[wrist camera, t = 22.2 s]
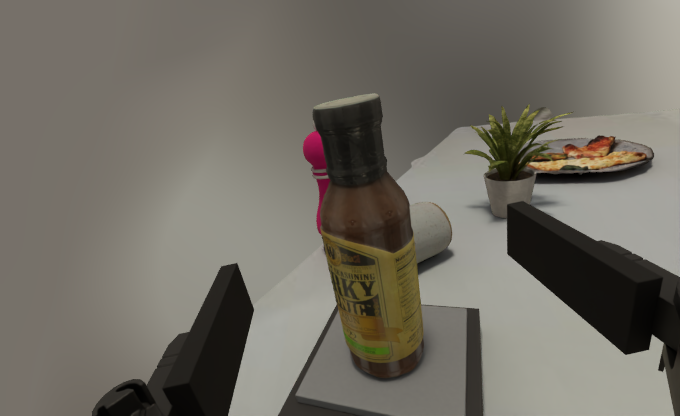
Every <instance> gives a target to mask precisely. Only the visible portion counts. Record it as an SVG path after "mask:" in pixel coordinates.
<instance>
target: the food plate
mask: <svg viewBox="0 0 680 416" xmlns="http://www.w3.org/2000/svg"><path fill="white" fill-rule="evenodd" d="M549 141H553V140H547V141H536V142H532V144H533V143H539V144H545V143H547V142H549ZM528 144H529V143H526V144H525V145H524V146H523V147H522V149H521V150H520V152H521V151H522V150H523V148H525V147H526V146H528ZM540 146H542V145H537V146H534V147H532V148H530V149H529V150H528V151H527V152H526V153H525V154H524V155H523V157H522V158H521V160H522V159H523V158H524V157H525V156H526V155H527V154H528V153H529V152H531V151H533V150H534V149H536V148H539V147H540ZM545 147H547V146H545ZM548 147H549V148H552V149H549V150H546V151H543V152H540V153H545V154H550V155H549V156H550V157H551V158H552V161H553V162H552V161H551V160H550V159H548V158H545V157H541V156H538V157H537V158H536V159H535V160H533V161H532V162H531V163H529V164H528V165H527V166H526V168H530V169H533V170H535V171H536V173H542V172H544V173H551V174H561V173H571V174H572V173H579V174H580V175H582V173H583V172H584V173H585V172H601V171H602V172H606V171H607V172H608V171H623V170H627V169H631V168H633V167H637V166H640V165H643V164H645V163H648V162H649V160H651V159H653V157H654V153H653V151H652V149H651V148H649V147H647V146H645V145H642V144H638V143H634V142H629V141H623V140H615V137H613V136H611V137H604V136H597V138H595V139H588V138H581V139H580V138H578V139H575V138H574V139H562V140H561V139H558V141H554V142H551V143H549V144H548ZM554 149H555V150H554ZM520 152H519V153H520ZM519 153H518V154H519ZM534 157H536V156H533V157H532V158H531V159H530V160H529V161H528V162H530V161H531V160H532V159H533V158H534ZM521 160H520V162H521ZM520 162H519V163H520ZM528 162H527V163H528Z"/></svg>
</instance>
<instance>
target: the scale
mask: <svg viewBox="0 0 680 416" xmlns="http://www.w3.org/2000/svg"><path fill="white" fill-rule="evenodd" d="M421 310H422V320H423V340H424V348H423V353H422V356H421V358H420V360H419V362H418V364H417V365H416V367H415V368H414V369H413V370H411V371H410V372H408V373H406V374H402V375H400V376H396V377H390V378H378V377H376V376H374V375H371V374H369V373H367V372H365V371H363V370H361V369H360V368H359V367H358V366H357V365H356V364H355V362H354V360H353V358H352V355H351V352H350V349H349V347H348V346H347V344H346V341H345V337H344V332H343V328H342V323H341V319H340V314H339V309H338V305H336V307H335V309H334V311H333V313H332V315H331V316H330V318H329V320H328V322H327V324H326V326H325V328H324V330H323V332H322V333H321V335H320V337H319V339H318V341H317V343H316V345H315V347H314V349H313V351H312V352H311V354H310V356H309V358H308V360H307V362H306V364H305V366H304V368H303V369H302V371H301V373H300V375H299V377H298V379H297V381H296V383H295V385H294V387H293V388H292V390H291V392H290V394H289V396H288V398H287V400H286V402H285V404H284V405H283V407H282V409H281V411H280V413H279V415H278V416H483V400H482V370H481V341H480V317H479V309H474V308H460V307H446V306H432V305H421Z"/></svg>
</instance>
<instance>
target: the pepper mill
mask: <svg viewBox="0 0 680 416" xmlns="http://www.w3.org/2000/svg"><path fill="white" fill-rule="evenodd" d="M313 127H314V129H315V130H316V127H315V124H314V122H313ZM303 152H304V156H305V158H306V160H307V161H308V162H310V163H311V164H312V165H313V167H312V168H311V171H312V172H313V177H314V178H315V179H317V182H318V186H319V195H320V196H319V197H320V198H319V206H318V212H317V228H318V231H319V233H320V234H321V230H320V226H321V218H320V209H321V204H322V201H323V198H324V195H325V193H326V190H327V188H328V185H329V182H330V179H329V177H328V175H327V172H326V168H327V164H326V161H325V156H324V152H323V145H322V141H321V137H320V135H319V133H318V132H317V130H316V131H315V132H312V133H311V134H309V135H308V136H307V138H306V139H305V141H304V144H303ZM321 235H322V234H321Z"/></svg>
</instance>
